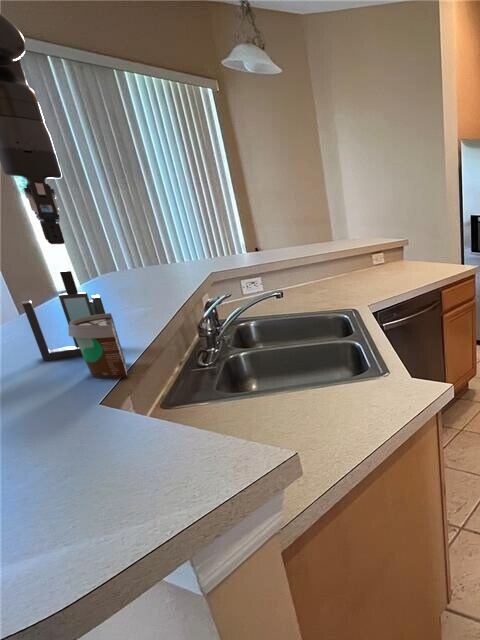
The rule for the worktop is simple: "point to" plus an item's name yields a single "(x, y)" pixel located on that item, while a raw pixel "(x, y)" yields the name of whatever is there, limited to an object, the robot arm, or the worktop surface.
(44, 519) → the worktop surface
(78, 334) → the food container
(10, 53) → the robot arm
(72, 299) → the sash
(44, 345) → the window frame
